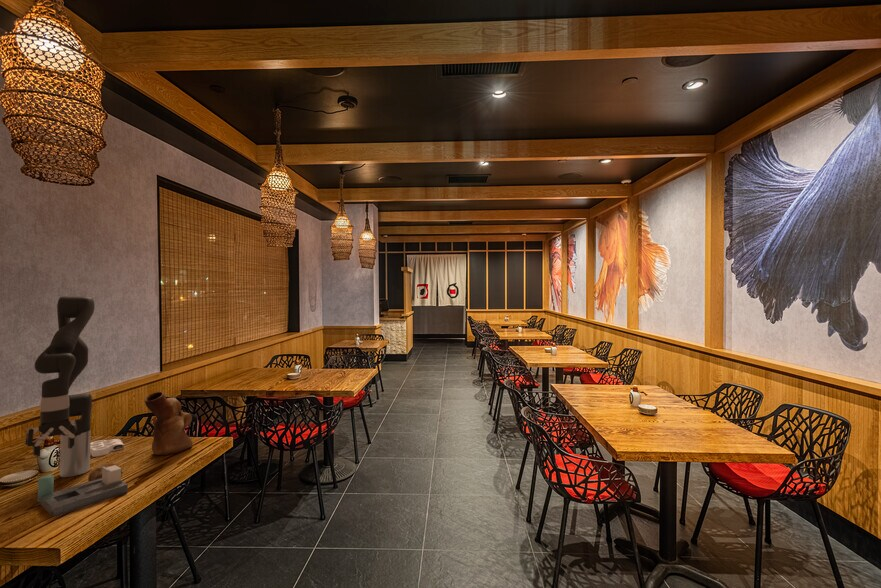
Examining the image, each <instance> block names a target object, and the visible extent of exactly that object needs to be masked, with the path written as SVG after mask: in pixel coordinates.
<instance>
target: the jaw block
mask: <svg viewBox="0 0 881 588" xmlns="http://www.w3.org/2000/svg"><path fill="white" fill-rule="evenodd" d="M116 465H117V464H116ZM116 465H114V466H110V467H107V468H106V467H102V482H103V483H104V484H106V485H107V484H110V483H114V482H117V481H120V480H122V474H121V472H122V470H121V468H122V467H121V468H120V467H118V466H116Z"/></svg>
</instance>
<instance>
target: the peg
mask: <svg viewBox="0 0 881 588" xmlns="http://www.w3.org/2000/svg"><path fill="white" fill-rule="evenodd" d="M54 477H55V476H54V474H48V475H43V476H40V477H38V479H37V502H38V503H41V496H43V495H46V494H50V493H53V492H54V485H55V484H54V482H55V481H54V480H55V478H54Z"/></svg>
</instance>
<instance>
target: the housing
mask: <svg viewBox="0 0 881 588" xmlns="http://www.w3.org/2000/svg"><path fill="white" fill-rule="evenodd" d="M128 484H129V483H126V482H125V481H123V480H122V479H121V480H120V481H117V482H114V483H110V484H107V485H106V484H104V483H103V482H102V478H100V479H96V480H93V481H90V482H89V481H87V482H83V483H80V484H76V485H74V486H70V487H67V488H66V487H65V488H63V489H60V490H57V491H53V493H50V494H46V495H43V496H41V502H40V506H41V507H42V508H43V509H44V511H46V512H47V513H48V514H49V515H50V516H51V517H52V518H53V519H54V518H57V517H59V516H62V515H65V514H69V513H71V512H74V511H77V510H80V509H84V508H86V507H89V506H92V505H95V504H98V503H101V502H104V501H106V500H110V499H112V498H116V497H118V496H121V495H125V494H127V493H128V492H129V491H128V490H129V489H128V486H129V485H128Z"/></svg>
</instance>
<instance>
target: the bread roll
mask: <svg viewBox="0 0 881 588" xmlns="http://www.w3.org/2000/svg"><path fill="white" fill-rule="evenodd" d="M114 465H116V466H118V467H120V468H121V475H122V474H123V471H122V470H123V468H122V466H120V465H118V464H116V463H111V462H103V463H100V464H99V465H97V466H96V467H94V468H93V469H92V471H90V473H89V474H88V479H87V480H88V481H87V482H90V481H93V480H96V479H100V478H102V467H106V468H107V467H110V466H114Z"/></svg>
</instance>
